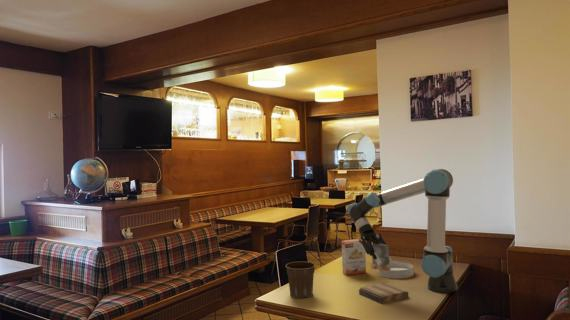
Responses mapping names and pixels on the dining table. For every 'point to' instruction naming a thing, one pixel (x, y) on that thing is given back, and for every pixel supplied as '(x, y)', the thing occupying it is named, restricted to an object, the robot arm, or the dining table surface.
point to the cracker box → (353, 257)
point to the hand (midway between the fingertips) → (385, 263)
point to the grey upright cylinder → (381, 257)
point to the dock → (383, 292)
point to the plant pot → (300, 278)
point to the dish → (398, 270)
